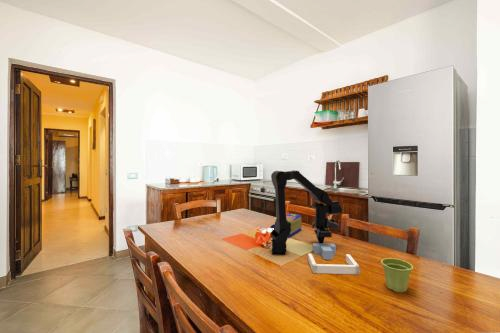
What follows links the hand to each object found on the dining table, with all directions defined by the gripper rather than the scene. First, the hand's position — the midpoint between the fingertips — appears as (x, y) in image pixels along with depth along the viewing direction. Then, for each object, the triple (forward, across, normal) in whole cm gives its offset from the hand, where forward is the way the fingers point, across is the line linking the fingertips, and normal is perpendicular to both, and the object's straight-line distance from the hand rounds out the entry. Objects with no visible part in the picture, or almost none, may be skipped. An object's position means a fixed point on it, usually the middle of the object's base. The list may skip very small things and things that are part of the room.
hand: (321, 245), depth 124 cm
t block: (+1, -10, 0) cm, 10 cm away
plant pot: (+1, -38, -18) cm, 42 cm away
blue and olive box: (+1, +23, +15) cm, 28 cm away
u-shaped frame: (+1, -22, 0) cm, 22 cm away
